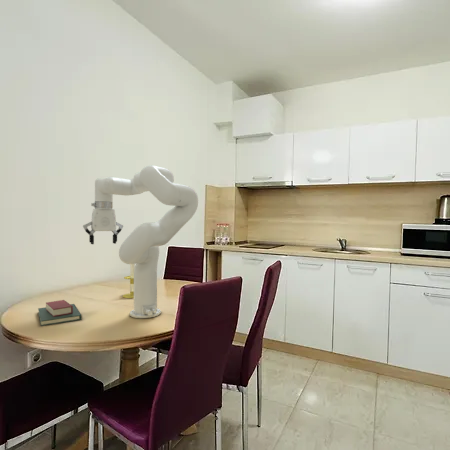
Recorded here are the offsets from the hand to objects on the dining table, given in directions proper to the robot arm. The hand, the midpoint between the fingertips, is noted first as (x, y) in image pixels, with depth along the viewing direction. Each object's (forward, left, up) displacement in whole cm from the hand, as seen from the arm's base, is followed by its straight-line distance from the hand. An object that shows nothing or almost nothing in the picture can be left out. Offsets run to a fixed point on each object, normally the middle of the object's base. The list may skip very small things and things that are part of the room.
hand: (103, 243), depth 146 cm
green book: (-5, +19, -29) cm, 35 cm away
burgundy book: (-5, +19, -27) cm, 33 cm away
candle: (+14, -17, -29) cm, 36 cm away
